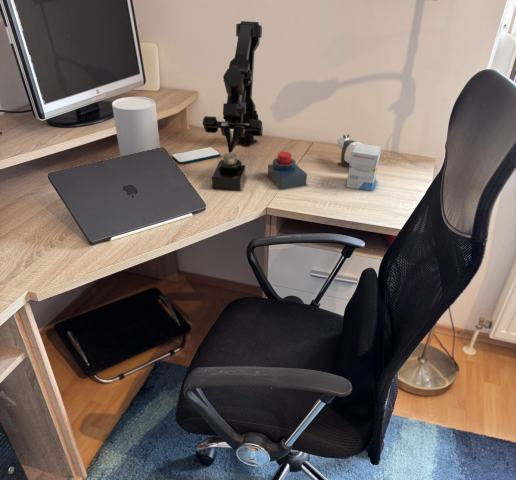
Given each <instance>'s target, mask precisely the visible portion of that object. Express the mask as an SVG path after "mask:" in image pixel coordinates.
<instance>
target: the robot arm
mask: <svg viewBox="0 0 516 480" xmlns="http://www.w3.org/2000/svg"><path fill="white" fill-rule="evenodd" d="M262 35H263V26H262V25H260V23H259V22H258V21H247V20H246V21H245V20H241V21H240V23H236V24H235V37H237V42H236V48H235V54H234V58H233V59H231V60H230V62H229V66H228V68H227V69H226V71H225V72H224V74H223V76H222V78H223V83H224V87H225V92H226V94H227V97H226V103H223V105H222V118H223V120H221V121H218V119H217V116H212V115H211V116H208V115H205V116H204V117H203V118H202V126H203V128H204V132H205V133H208V134H209V133H210V134H216V133H218V132H219V129H220V132H221V136H223V137H225V139H226V145H227V150H228V153H233V151H234V149H235V147H236V146H237V144H238V145H242V146H245V147H249V146H251V145H253V144H255V143H257V141H258V140H257V139H256V138H255V139H254V137H263V130H264V128H263V127H264V126H263V121H262V120H261V119H259V114H258V112H257V110H256V104H255V102H254V99H253V83H254V65H255V52H256V51H257V49H258V48H259V46H260V43H261V42H260V41H261V39H262V37H263V36H262ZM232 130H233V131H232ZM231 131H232V132H231Z"/></svg>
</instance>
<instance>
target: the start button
mask: <svg viewBox="0 0 516 480" xmlns="http://www.w3.org/2000/svg"><path fill="white" fill-rule="evenodd" d="M277 158H278V163H279V164H284V165H287V164H290V163H291V159H292V153H291V152H289V151H279V152H278V153H277Z"/></svg>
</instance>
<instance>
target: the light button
mask: <svg viewBox="0 0 516 480" xmlns="http://www.w3.org/2000/svg"><path fill="white" fill-rule="evenodd" d="M222 160H223V163H224V165H226V166H235V165H237V160H238V154H236V153H233V152H232V153H229V152H227V153H224V154H223V157H222Z"/></svg>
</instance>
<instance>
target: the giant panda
mask: <svg viewBox="0 0 516 480" xmlns="http://www.w3.org/2000/svg"><path fill="white" fill-rule="evenodd" d="M336 142H337V146H338V148H339V149H340V150H341V153H340V154H341V155H340V163H339V165H340V166H341V167H347V164H349V165H350V159H351V152H352V150H353V148H354V146H355V145H356V143H360V144H363V143H362V142H359V141H357V140H353V139H350V134H347V135H345V134H343V135H341V136H340V138H338V139H337V140H336Z"/></svg>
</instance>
